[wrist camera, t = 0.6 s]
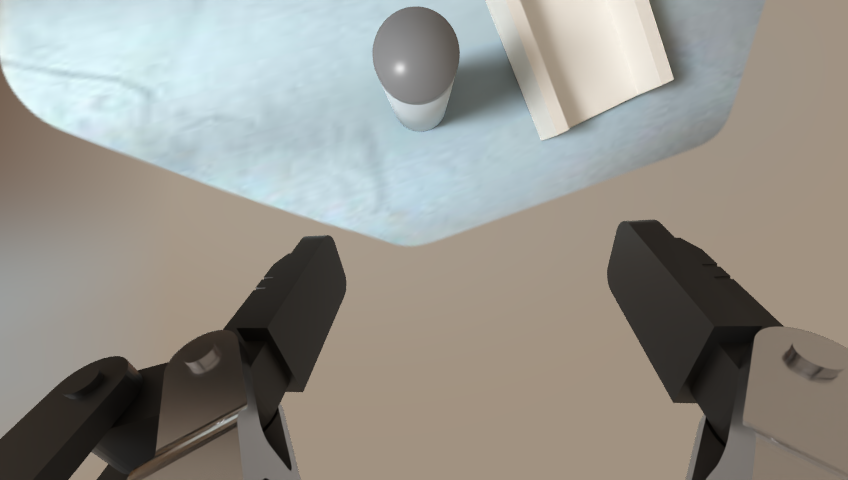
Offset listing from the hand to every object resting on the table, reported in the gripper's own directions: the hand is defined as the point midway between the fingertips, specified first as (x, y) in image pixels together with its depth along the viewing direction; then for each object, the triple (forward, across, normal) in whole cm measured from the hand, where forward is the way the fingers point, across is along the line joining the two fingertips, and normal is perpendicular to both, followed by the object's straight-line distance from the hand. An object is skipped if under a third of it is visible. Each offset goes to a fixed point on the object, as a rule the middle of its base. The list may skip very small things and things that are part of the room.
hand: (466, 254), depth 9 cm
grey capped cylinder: (+24, +4, 0) cm, 25 cm away
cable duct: (+29, -8, -6) cm, 30 cm away
